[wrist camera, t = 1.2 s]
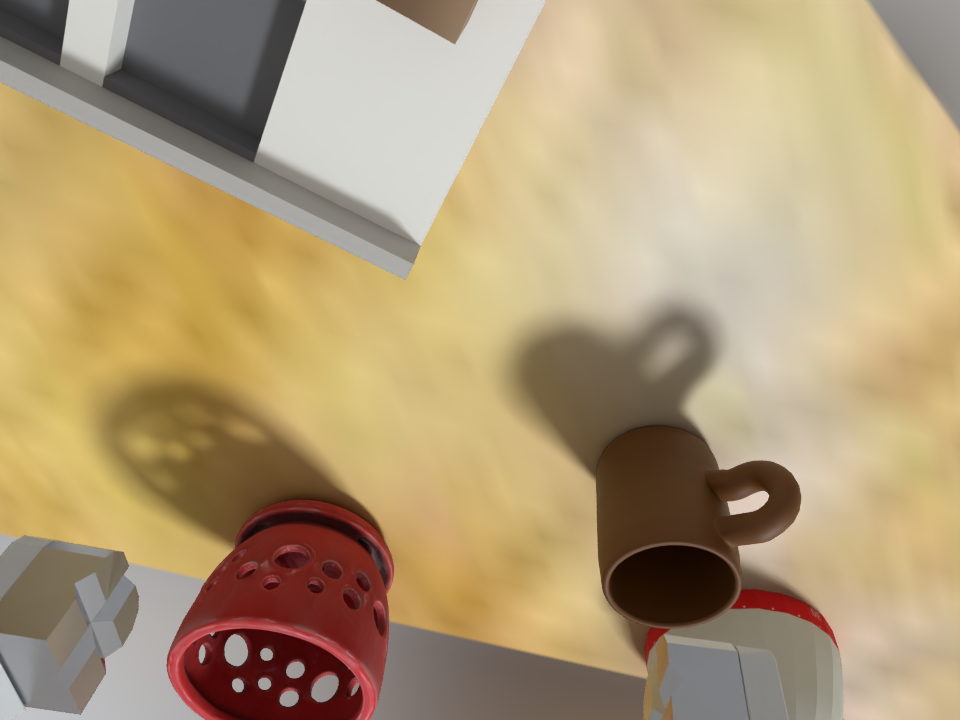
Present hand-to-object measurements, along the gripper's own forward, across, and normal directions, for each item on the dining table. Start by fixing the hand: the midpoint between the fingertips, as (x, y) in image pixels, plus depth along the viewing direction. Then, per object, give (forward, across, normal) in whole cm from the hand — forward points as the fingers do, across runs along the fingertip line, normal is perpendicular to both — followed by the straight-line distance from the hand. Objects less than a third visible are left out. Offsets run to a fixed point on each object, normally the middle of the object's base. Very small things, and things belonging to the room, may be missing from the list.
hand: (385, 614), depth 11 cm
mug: (+30, -11, +20) cm, 38 cm away
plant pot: (+29, +12, +33) cm, 46 cm away
